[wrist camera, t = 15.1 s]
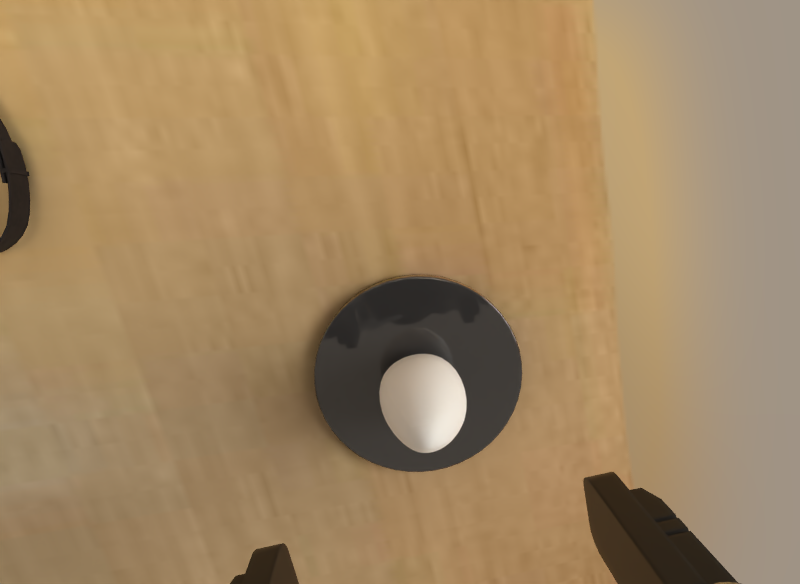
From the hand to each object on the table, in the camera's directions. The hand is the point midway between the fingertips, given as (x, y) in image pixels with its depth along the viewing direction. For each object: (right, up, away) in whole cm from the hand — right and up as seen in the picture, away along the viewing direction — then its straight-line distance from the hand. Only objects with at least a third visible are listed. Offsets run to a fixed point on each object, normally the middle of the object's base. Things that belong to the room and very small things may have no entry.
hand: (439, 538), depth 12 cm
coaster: (0, +2, +10) cm, 11 cm away
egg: (0, +2, +10) cm, 10 cm away
